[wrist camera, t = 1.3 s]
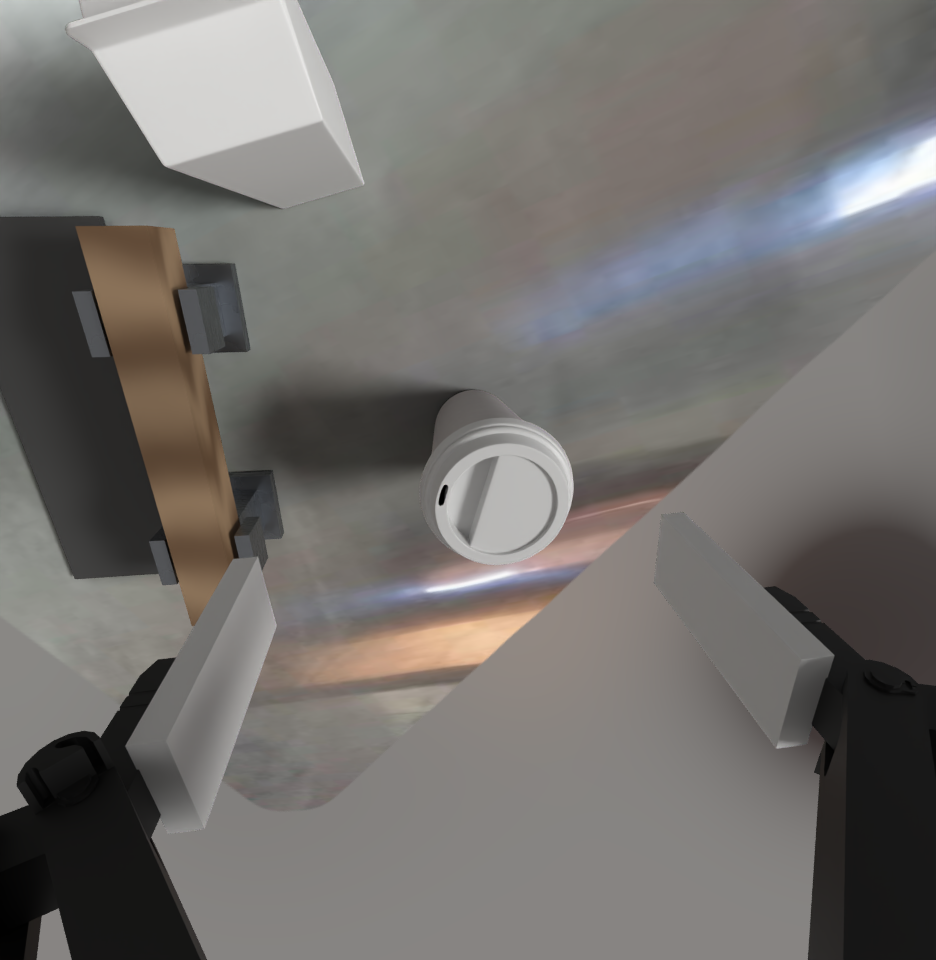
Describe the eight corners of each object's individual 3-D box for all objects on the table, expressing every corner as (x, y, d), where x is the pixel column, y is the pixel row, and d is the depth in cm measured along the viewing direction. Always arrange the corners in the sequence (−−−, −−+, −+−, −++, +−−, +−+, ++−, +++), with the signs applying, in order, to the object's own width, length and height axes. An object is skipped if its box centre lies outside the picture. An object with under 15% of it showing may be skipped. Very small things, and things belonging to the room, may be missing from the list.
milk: (245, 108, 33) (-19, -127, 13) (335, 81, 33) (211, -199, 13) (283, 211, 35) (113, 151, 15) (367, 187, 35) (307, 93, 15)
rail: (111, 229, 30) (75, 226, 26) (174, 228, 30) (146, 225, 27) (209, 596, 40) (191, 625, 37) (254, 593, 40) (241, 622, 37)
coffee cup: (462, 346, 40) (490, 394, 27) (551, 415, 43) (616, 489, 30) (393, 439, 43) (386, 526, 29) (482, 498, 46) (513, 601, 32)
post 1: (141, 265, 36) (64, 268, 28) (239, 263, 36) (191, 266, 28) (163, 351, 38) (98, 377, 30) (254, 349, 39) (214, 374, 31)
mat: (-59, 217, 33) (-67, 217, 33) (102, 216, 34) (98, 216, 34) (79, 575, 45) (75, 579, 44) (197, 567, 46) (195, 571, 45)
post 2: (194, 474, 42) (144, 525, 34) (276, 470, 43) (245, 519, 35) (210, 537, 45) (166, 599, 37) (287, 532, 45) (261, 592, 37)
